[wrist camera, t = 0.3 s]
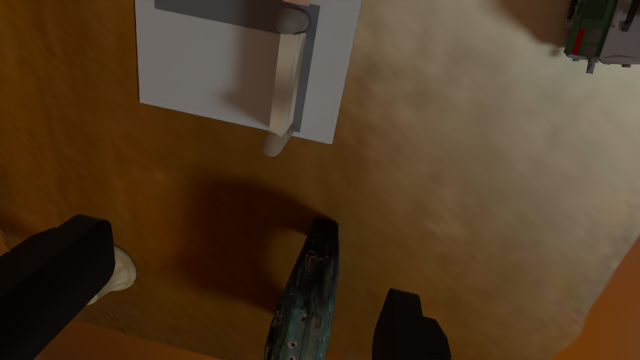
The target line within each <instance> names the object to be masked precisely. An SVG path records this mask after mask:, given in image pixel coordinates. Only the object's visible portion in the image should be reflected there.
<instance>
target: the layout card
mask: <svg viewBox="0 0 640 360" xmlns="http://www.w3.org/2000/svg"><path fill="white" fill-rule="evenodd" d="M361 1H362V0H310V5H309V6H305V5H299V4H294V3H289V2H284V1H283V0H135V10H136V31H137V52H138V73H139V94H140V102H141V103H145V104H150V105H155V106H159V107H164V108H168V109H173V110H177V111H182V112H187V113H191V114H196V115H200V116H205V117H209V118H214V119H219V120H223V121H228V122H232V123H237V124H241V125H246V126H251V127H255V128H260V129H264V130H269V126H270V118H271V110H272V101H273V93H274V85H275V77H276V68H277V60H278V52H279V44H280V35H281V33H280V32H278V31H277V29H276V28H275V25H274V16H275V14H276V12H277V11H278V10H280V9H282V8H290V9H299V10H305V11H306V12H308V14H309V15H310V17H311V24H310V27H309V28H308V29H307V30H305V31H302V32H306V36H305V43H304V50H303V56H302V63H301V70H300V76H299V83H298V90H297V96H296V103H295V110H294V116H293V125H294V132H293V134H292V136H296V137H301V138H305V139H310V140H315V141H319V142H324V143H328V144H332V141H333V136H334V132H335V127H336V122H337V117H338V112H339V107H340V103H341V98H342V93H343V88H344V83H345V79H346V74H347V69H348V64H349V59H350V54H351V50H352V45H353V40H354V35H355V30H356V26H357V21H358V16H359V11H360V6H361Z"/></svg>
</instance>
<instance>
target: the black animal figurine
mask: <svg viewBox="0 0 640 360" xmlns="http://www.w3.org/2000/svg"><path fill="white" fill-rule="evenodd" d="M338 236H339V229H338V223H336V222H333V221H327V220H323V219H320V218H316V219H315V220H314V223H313V225H312V228H311V230H310V232H309V234H308V236H307V238H306V241H305V243H304V246H303V248H302V250H301V252H300V255H299V257H298V259H297V261H296V264H295V266H294V268H293V270H292V273H291V275H290V277H289V280H288V282H287V285H286V288H285V290H284V293H283V295H282V296H281V297H280V300H279V302H278V305H277V308H276V310H275V315H274V318H273V320H272V322H271V325H270V329H269V333H268V337H267V341H266V344H265V350H264V359H263V360H323V358H324V355H325V353H326V349H327V343H328V339H329V336H330V332H331V326H332V317H333V310H334V305H335V295H336V288H337V280H338V275H339V239H338Z"/></svg>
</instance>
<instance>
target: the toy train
mask: <svg viewBox="0 0 640 360" xmlns="http://www.w3.org/2000/svg"><path fill="white" fill-rule="evenodd" d="M565 27H567V28H569V29H571V30H570V34H569V37H568V40H567V43H566V47H565V50H564V51H563V52H564V53H565V54H566V56H567V57H570V58H573V60H572V61H579V59H581V60H588V61H586V62H588V66H587V71H586V73H590V74H593V71H594V67H595V63H596V62H597V60H598V61H600V62H602V63H603V64H607V65H610V64H621V65H622V67H628V68H630V67H631V64H640V0H572V1H571V5H570V7H569V9H568V11H567V13H566V17H565ZM597 63H599V62H597Z"/></svg>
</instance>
